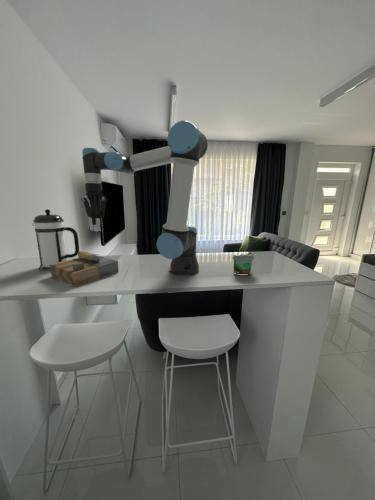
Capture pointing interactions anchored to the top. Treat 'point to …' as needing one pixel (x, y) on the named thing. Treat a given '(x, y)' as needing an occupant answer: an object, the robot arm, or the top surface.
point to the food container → (243, 263)
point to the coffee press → (52, 239)
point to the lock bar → (89, 256)
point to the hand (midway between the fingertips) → (97, 230)
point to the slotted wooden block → (83, 270)
